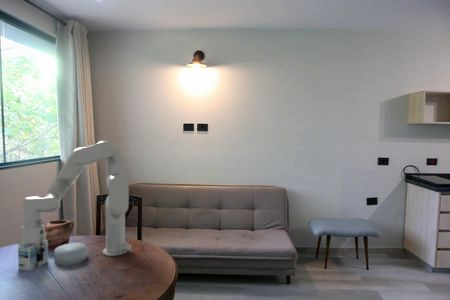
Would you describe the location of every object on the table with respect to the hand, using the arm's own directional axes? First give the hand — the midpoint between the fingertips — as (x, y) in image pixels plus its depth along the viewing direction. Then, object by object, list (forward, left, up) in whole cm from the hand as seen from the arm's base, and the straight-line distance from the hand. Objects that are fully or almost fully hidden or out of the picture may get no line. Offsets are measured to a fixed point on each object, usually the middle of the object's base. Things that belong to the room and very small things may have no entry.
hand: (33, 259), depth 137 cm
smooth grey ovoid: (-12, -10, -3) cm, 16 cm away
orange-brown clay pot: (+6, -24, -3) cm, 25 cm away
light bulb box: (0, 0, -3) cm, 3 cm away
